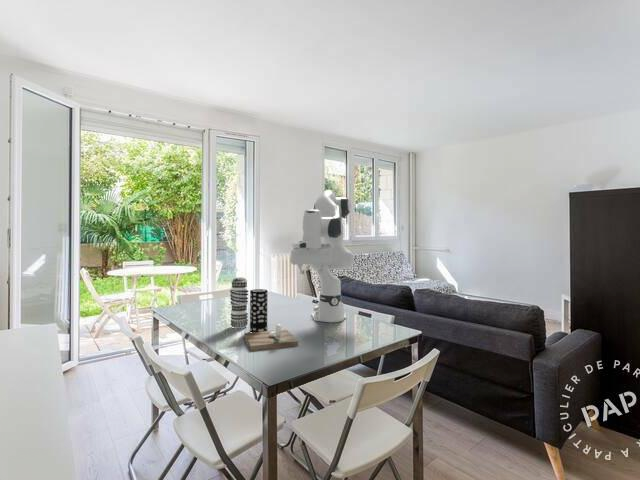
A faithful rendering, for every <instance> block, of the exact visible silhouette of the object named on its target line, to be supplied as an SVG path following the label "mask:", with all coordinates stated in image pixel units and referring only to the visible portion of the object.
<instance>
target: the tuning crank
mask: <svg viewBox="0 0 640 480" xmlns="http://www.w3.org/2000/svg"><path fill="white" fill-rule="evenodd" d="M275 330H276V332H270V333H269V336H270V337H275V338H276V339H281V330H282V325H281V324H280V323H279V324H275Z"/></svg>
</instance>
